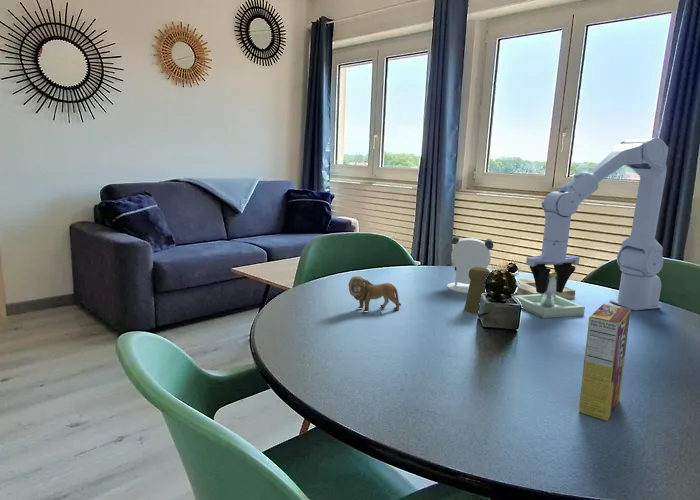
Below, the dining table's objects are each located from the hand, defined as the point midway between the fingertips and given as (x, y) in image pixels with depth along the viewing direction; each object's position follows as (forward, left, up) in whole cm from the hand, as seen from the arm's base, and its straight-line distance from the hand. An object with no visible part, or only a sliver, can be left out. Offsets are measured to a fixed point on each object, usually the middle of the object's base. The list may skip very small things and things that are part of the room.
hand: (549, 292), depth 119 cm
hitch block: (-8, -14, -4) cm, 17 cm away
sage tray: (0, 0, -4) cm, 4 cm away
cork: (+19, -3, -5) cm, 20 cm away
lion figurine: (+45, -8, -5) cm, 46 cm away
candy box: (+26, +43, -5) cm, 50 cm away
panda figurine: (+10, -22, -5) cm, 25 cm away
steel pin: (0, 0, -4) cm, 4 cm away
